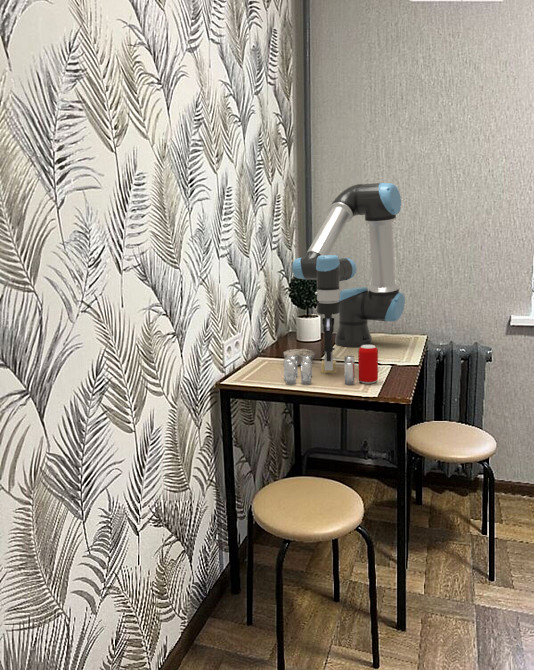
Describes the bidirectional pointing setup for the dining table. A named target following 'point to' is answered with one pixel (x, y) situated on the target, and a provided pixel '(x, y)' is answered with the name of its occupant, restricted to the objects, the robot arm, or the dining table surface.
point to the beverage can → (368, 364)
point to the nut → (328, 370)
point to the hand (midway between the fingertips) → (328, 369)
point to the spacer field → (306, 370)
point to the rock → (299, 354)
